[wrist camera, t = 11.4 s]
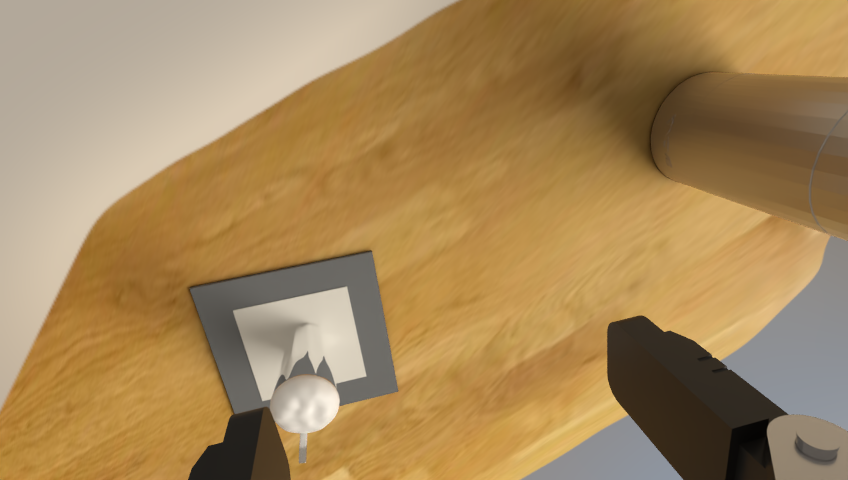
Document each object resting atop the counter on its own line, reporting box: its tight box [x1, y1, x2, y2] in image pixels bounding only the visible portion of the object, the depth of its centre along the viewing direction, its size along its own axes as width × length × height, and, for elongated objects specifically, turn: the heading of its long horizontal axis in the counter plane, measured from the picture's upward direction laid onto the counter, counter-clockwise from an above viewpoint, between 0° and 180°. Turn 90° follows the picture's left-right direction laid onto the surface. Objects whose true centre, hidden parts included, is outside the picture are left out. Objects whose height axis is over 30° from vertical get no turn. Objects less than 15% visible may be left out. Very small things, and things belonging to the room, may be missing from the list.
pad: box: [190, 251, 398, 422], centre depth 40 cm, size 14×14×1 cm
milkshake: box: [270, 323, 340, 463], centre depth 35 cm, size 4×5×10 cm
